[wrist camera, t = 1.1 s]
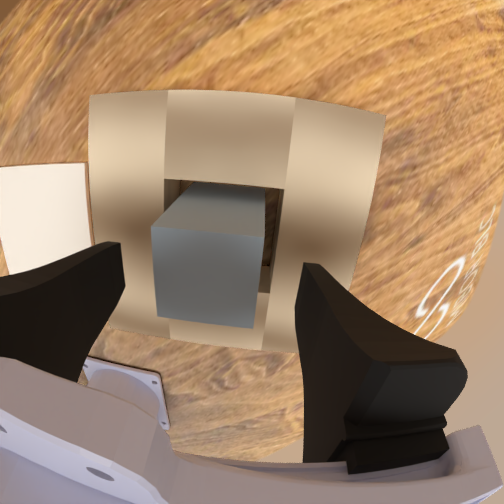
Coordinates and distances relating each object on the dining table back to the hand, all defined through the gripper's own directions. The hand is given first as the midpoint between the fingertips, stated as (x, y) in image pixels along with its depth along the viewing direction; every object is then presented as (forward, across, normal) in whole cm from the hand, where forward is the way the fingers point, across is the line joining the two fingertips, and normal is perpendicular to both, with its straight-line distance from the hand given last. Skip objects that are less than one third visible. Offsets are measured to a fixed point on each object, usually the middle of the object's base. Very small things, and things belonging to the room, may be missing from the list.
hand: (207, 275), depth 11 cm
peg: (+7, 0, 0) cm, 7 cm away
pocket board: (+7, 0, 0) cm, 7 cm away
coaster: (+6, +14, +2) cm, 16 cm away
